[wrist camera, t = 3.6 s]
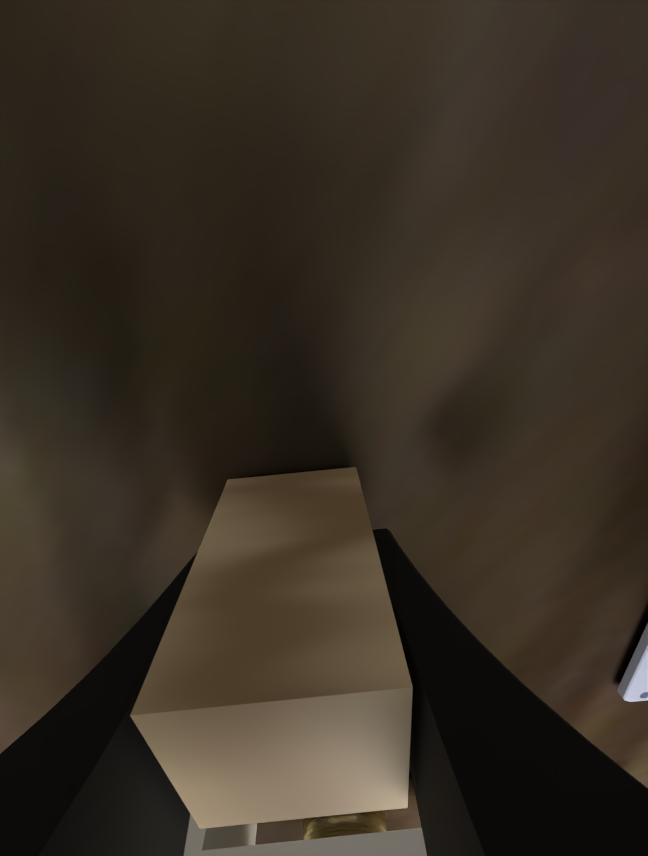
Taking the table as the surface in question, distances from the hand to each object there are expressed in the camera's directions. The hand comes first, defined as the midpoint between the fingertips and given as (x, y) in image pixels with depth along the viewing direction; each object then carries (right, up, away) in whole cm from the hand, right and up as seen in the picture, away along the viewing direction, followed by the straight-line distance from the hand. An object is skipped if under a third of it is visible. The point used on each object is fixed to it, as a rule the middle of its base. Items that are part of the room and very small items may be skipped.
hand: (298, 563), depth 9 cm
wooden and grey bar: (+1, -7, +5) cm, 8 cm away
